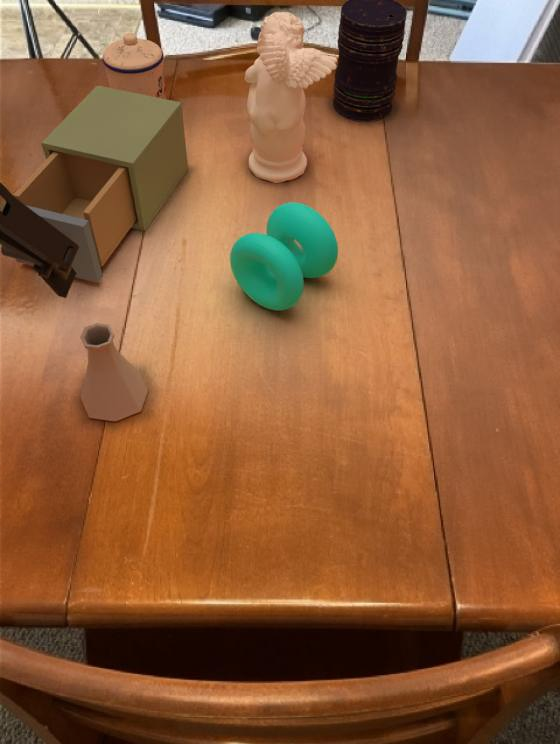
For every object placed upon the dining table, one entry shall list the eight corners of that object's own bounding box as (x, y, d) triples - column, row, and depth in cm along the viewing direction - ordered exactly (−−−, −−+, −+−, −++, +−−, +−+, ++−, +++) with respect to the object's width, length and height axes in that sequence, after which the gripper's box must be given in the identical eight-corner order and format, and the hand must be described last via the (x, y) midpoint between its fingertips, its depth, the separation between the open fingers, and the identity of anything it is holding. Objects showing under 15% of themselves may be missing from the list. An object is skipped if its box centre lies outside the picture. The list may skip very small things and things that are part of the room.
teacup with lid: (171, 121, 107) (162, 48, 98) (112, 126, 106) (98, 52, 97) (166, 82, 114) (157, 10, 105) (111, 86, 113) (97, 14, 104)
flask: (150, 418, 72) (136, 358, 64) (80, 427, 71) (57, 368, 63) (147, 366, 76) (133, 304, 69) (81, 373, 76) (60, 311, 68)
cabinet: (145, 231, 91) (132, 163, 82) (61, 211, 93) (41, 142, 85) (188, 169, 99) (181, 102, 91) (110, 152, 102) (96, 85, 93)
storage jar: (320, 108, 110) (327, 13, 98) (351, 83, 115) (361, -11, 103) (373, 129, 107) (387, 33, 95) (403, 102, 112) (420, 7, 100)
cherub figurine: (267, 138, 104) (268, -14, 87) (342, 160, 101) (358, 6, 84) (230, 181, 98) (223, 26, 80) (309, 206, 95) (319, 49, 77)
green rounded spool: (226, 291, 84) (222, 228, 76) (276, 248, 89) (277, 185, 81) (291, 328, 80) (294, 266, 72) (339, 282, 85) (346, 218, 77)
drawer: (80, 307, 81) (63, 251, 74) (-4, 285, 83) (-28, 228, 76) (146, 216, 91) (136, 159, 84) (70, 198, 93) (54, 141, 86)
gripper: (-324, 130, 45) (-131, 264, 66) (17, 230, 43) (108, 337, 63) (-267, 40, 47) (-96, 197, 68) (63, 131, 44) (137, 266, 65)
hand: (2, 265), depth 65 cm, fingers open, 13 cm apart
